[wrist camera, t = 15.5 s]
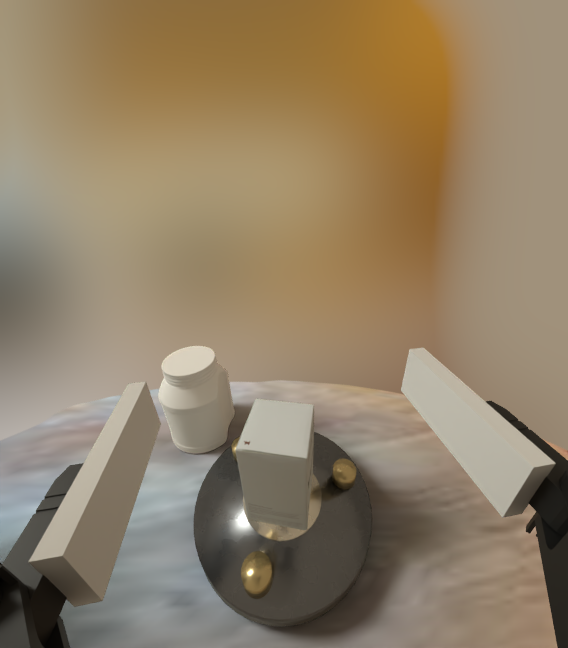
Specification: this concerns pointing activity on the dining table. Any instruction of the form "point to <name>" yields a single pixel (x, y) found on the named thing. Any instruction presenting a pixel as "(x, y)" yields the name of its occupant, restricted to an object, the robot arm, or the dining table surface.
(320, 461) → the base
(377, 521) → the dining table surface
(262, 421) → the supplement box
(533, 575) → the dining table surface
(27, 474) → the dining table surface
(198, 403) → the jar
